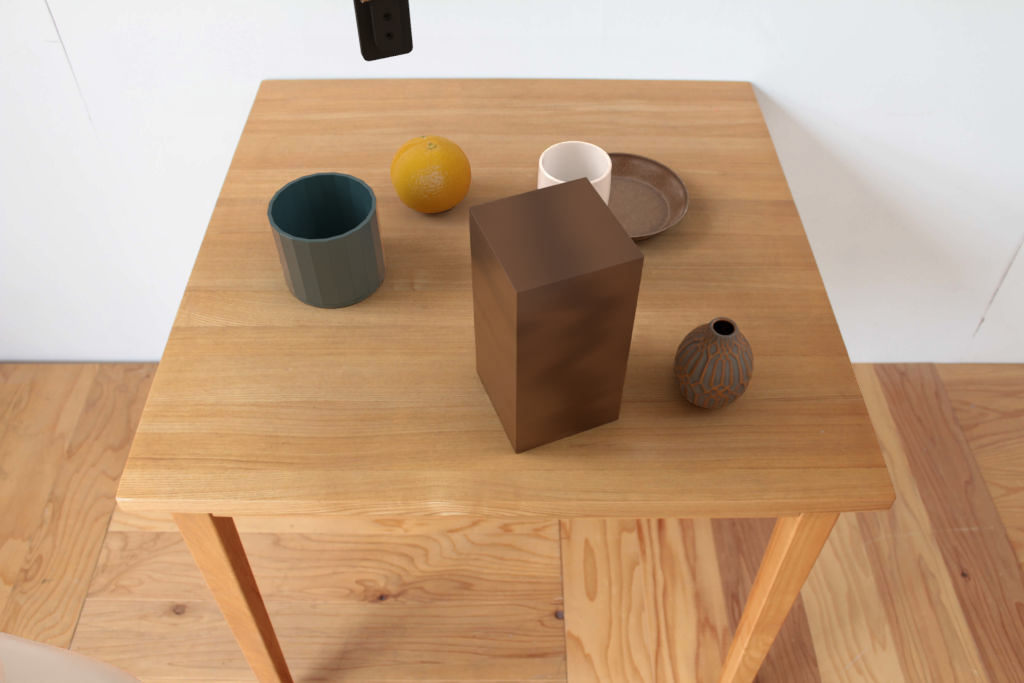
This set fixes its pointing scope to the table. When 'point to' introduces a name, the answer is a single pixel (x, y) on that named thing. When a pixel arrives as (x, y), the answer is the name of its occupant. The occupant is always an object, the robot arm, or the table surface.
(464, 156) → the fruit
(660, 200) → the saucer
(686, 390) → the vase
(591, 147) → the tall white cup
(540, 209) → the stand
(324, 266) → the tumbler
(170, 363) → the table surface
